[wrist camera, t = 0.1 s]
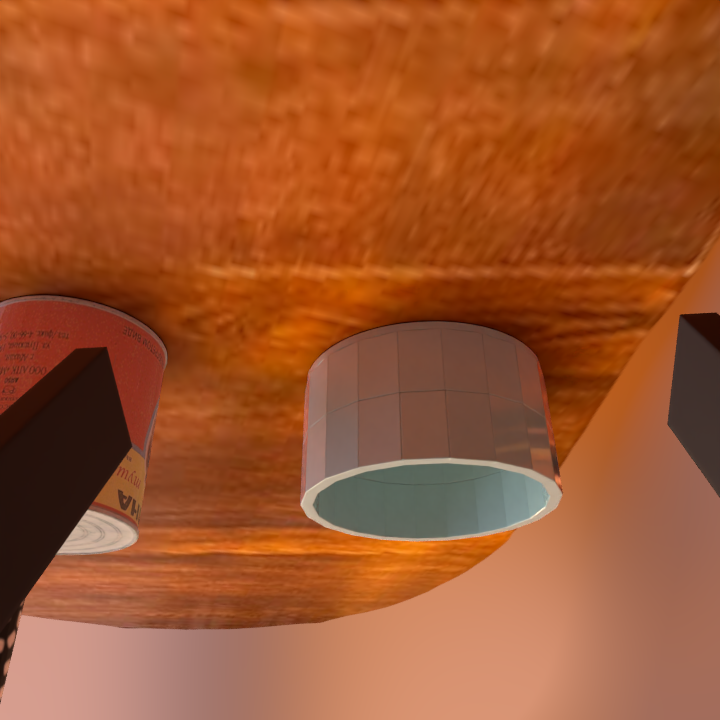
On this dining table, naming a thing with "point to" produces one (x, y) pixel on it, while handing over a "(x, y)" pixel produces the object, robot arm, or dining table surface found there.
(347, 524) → the pot
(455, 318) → the dining table surface
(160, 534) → the dining table surface
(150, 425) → the canned food
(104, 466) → the robot arm
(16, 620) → the white-spotted black cylinder
